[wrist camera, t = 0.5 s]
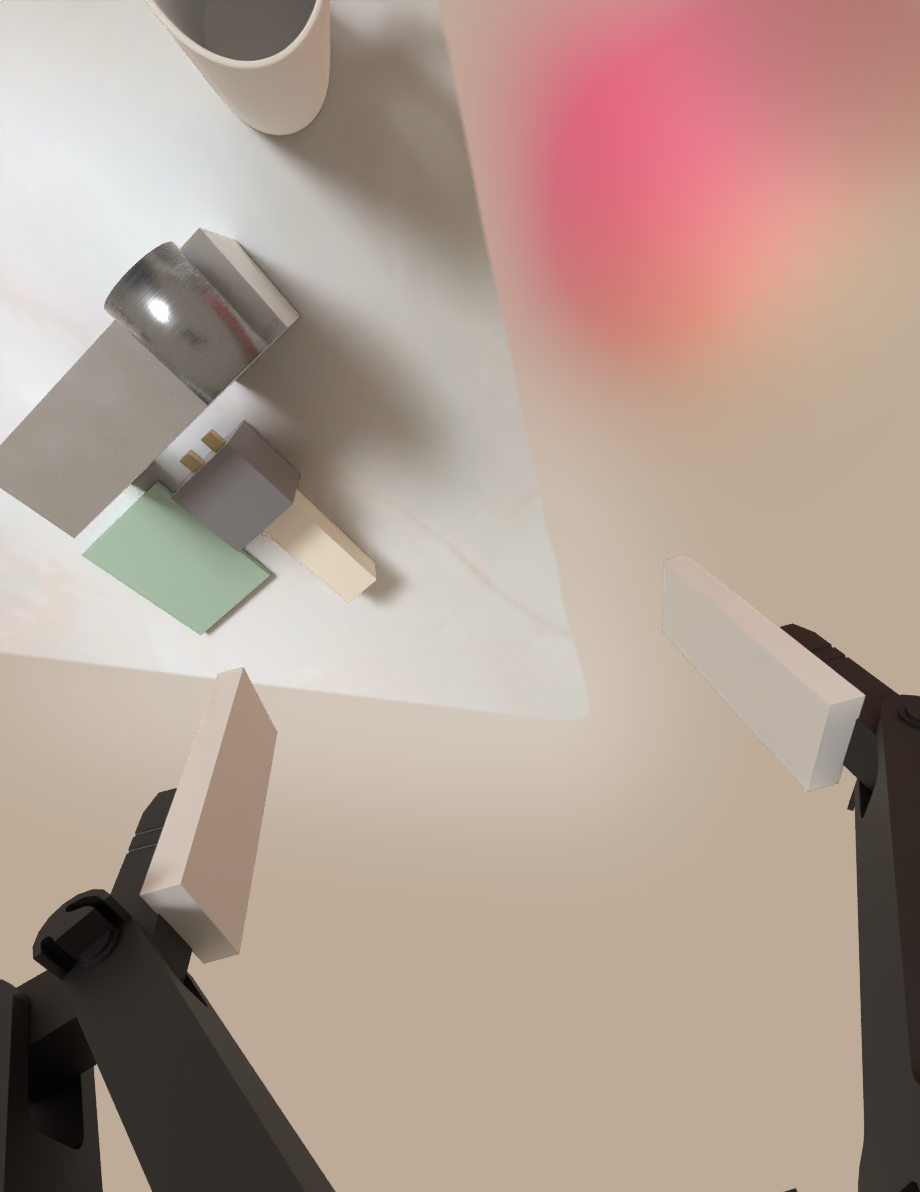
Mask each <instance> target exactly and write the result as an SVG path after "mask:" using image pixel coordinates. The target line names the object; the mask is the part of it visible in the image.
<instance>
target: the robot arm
mask: <svg viewBox="0 0 920 1192" xmlns="http://www.w3.org/2000/svg"><path fill="white" fill-rule="evenodd" d="M662 632H663V633H664V634H665V635H666V636H667V638H668V639H669V640H670V641H671V642H672V643H673V644H674V645H675V646H676V647H677V649H678V650H679V651H680V652H681V653H682V654H683V655H684V656H685V658H686V659H687V660H688V661H689V662H690V663H691V664H692V665H693V666H694V667H695V669H696V670H697V671H698V672H699V673H700V674H701V675H702V676H703V677H704V678H705V680H706V681H707V682H708V683H709V684H710V685H711V686H712V687H713V688H714V689H715V691H716V692H717V693H718V694H719V695H720V696H721V697H722V698H723V700H724V701H725V702H726V703H727V704H728V705H729V706H730V707H731V708H732V709H733V711H735V713H736V714H737V715H738V716H739V717H740V718H741V719H742V720H743V722H744V723H745V724H746V725H747V726H748V727H749V728H750V729H751V730H752V732H753V733H754V734H755V735H756V736H757V737H758V738H759V739H760V740H761V741H762V743H764V745H765V746H766V747H767V748H768V749H769V750H770V751H771V752H772V754H773V755H774V756H775V757H776V758H777V759H778V760H779V761H780V762H781V764H783V766H784V767H785V768H786V769H787V770H788V771H789V772H790V773H791V775H792V776H793V777H794V778H795V779H796V780H797V781H798V782H799V783H800V785H801V786H802V787H803V788H804V789H805V790H806V791H807V792H809V791H813V790H816V789H820V788H823V787H827V786H830V785H834V784H837V783H839V780H840V776H841V773H842V770H843V767H844V766H845V767H846V768H847V769H848V770H849V771H850V772H851V773H852V774H853V775H855V776H856V777H857V781H856V784H855V787H854V790H853V793H852V796H851V799H850V801H849V805H848V808H847V809H849V810H852V811H853V810H854V807H855V829H856V863H857V895H858V896H857V897H858V929H859V963H860V997H861V1028H862V1030H861V1031H862V1064H863V1098H864V1143H863V1149H862V1156H861V1161H860V1167H859V1179H858V1192H920V696H913V695H899V694H897V693H896V692H894V691H893V690H892V689H890V688H889V687H888V686H886V685H885V684H884V683H882V682H881V681H880V680H878V679H877V678H875V677H874V676H873V675H871V674H870V673H869V672H867V671H866V670H865V669H863V668H862V667H861V666H859V665H858V664H856V663H855V662H854V661H852V660H851V659H850V658H849V657H848V658H846V657H845V655H844V654H843V653H842V652H840V651H839V650H838V649H836V648H832V646H831V644H830V643H828V642H827V641H826V640H824V639H823V638H822V637H820V636H819V635H817V634H816V633H815V632H812V631H810V630H807V629H805V628H803V627H800V626H798V625H795V624H789V625H785V626H782V627H778V626H777V625H776V624H775V623H773V622H772V621H771V620H769V619H768V618H767V617H766V616H764V615H763V614H762V613H761V612H759V611H758V610H757V609H756V608H754V607H753V606H752V605H750V604H749V603H748V602H747V601H745V600H744V599H743V598H742V597H740V596H739V595H738V594H736V593H735V592H734V591H733V590H732V589H730V588H729V587H727V586H726V585H725V584H724V583H723V582H721V581H720V580H719V579H718V578H716V577H715V576H713V574H711V573H710V572H709V571H707V570H706V569H705V568H703V567H702V566H701V565H700V564H699V563H697V562H696V561H695V560H693V559H692V558H691V557H690V556H688V555H683V556H679V557H675V558H671V559H667V560H664V573H663V609H662ZM276 736H277V731H276V729H275V727H274V725H273V723H272V721H271V719H270V717H269V715H268V713H267V712H266V710H265V708H264V706H263V704H262V702H261V700H260V698H259V696H258V695H257V692H256V690H255V689H254V687H253V685H252V683H251V681H250V679H249V677H248V675H247V673H246V671H245V669H244V667H242V668H238V669H234V670H230V671H226V672H222V673H218V674H217V677H216V680H215V682H214V685H213V688H212V691H211V694H210V697H209V700H208V702H207V705H206V708H205V711H204V714H203V716H202V719H201V722H200V725H199V728H198V731H197V734H196V737H195V739H194V742H193V745H192V748H191V750H190V753H189V756H188V759H187V762H186V765H185V768H184V770H183V774H182V776H181V779H180V782H179V785H178V787H177V788H175V789H171V790H168V791H163V792H160V793H158V794H157V796H156V797H155V798H154V799H153V801H152V802H151V803H150V805H149V806H148V807H147V808H146V810H145V811H144V812H143V814H142V817H141V819H140V822H139V825H138V827H137V829H136V832H135V834H136V836H135V837H133V839H132V842H131V844H130V847H129V849H128V850H129V853H128V854H126V857H125V860H124V862H123V864H122V867H121V869H120V872H119V875H118V877H117V879H116V882H115V884H114V887H113V889H112V892H111V894H109V893H107V892H106V891H105V890H103V889H102V890H101V889H100V890H98V889H92V890H89V891H86V892H84V893H81V894H78V895H76V896H75V897H73V898H72V899H71V900H69V901H67V902H66V903H64V904H63V905H62V906H61V907H60V908H59V909H57V910H56V911H55V912H54V913H53V914H52V915H51V916H50V917H49V918H48V920H47V921H46V923H45V924H44V925H43V927H42V928H41V930H40V931H39V932H38V935H37V937H36V940H35V942H34V945H33V959H34V960H35V961H37V962H38V963H39V964H41V965H42V966H43V967H45V968H46V969H47V971H45V972H43V973H41V974H40V975H38V976H36V977H34V978H33V979H31V980H29V981H27V982H26V983H24V984H22V985H21V986H19V987H17V988H15V987H14V986H13V985H11V984H9V983H8V982H6V981H4V980H0V1192H103V1190H102V1176H101V1162H100V1148H99V1135H98V1121H97V1108H96V1093H95V1080H94V1066H95V1065H96V1064H97V1065H98V1067H99V1070H100V1072H101V1074H102V1077H103V1079H104V1081H105V1083H106V1086H107V1088H108V1090H109V1093H110V1095H111V1097H112V1099H113V1102H114V1104H115V1106H116V1109H117V1111H118V1113H119V1116H120V1118H121V1120H122V1123H123V1125H124V1127H125V1130H126V1132H127V1134H128V1136H129V1139H130V1141H131V1144H132V1146H133V1148H134V1150H135V1153H136V1155H137V1157H138V1160H139V1162H140V1164H141V1167H142V1169H143V1171H144V1174H145V1176H146V1178H147V1180H148V1183H149V1185H150V1187H151V1190H152V1192H335V1190H334V1189H333V1187H332V1186H331V1184H330V1183H329V1181H328V1180H327V1179H326V1177H325V1175H324V1174H323V1172H322V1171H321V1169H320V1168H319V1166H318V1165H317V1163H316V1162H315V1160H314V1159H313V1158H312V1156H311V1154H310V1153H309V1151H308V1150H307V1148H306V1147H305V1145H304V1144H303V1142H302V1141H301V1139H300V1138H299V1136H298V1135H297V1133H296V1132H295V1130H294V1129H293V1127H292V1126H291V1124H290V1123H289V1121H288V1120H287V1118H286V1117H285V1115H284V1114H283V1112H282V1111H281V1109H280V1108H279V1106H278V1105H277V1104H276V1102H275V1100H274V1099H273V1097H272V1096H271V1094H270V1093H269V1091H268V1090H267V1089H266V1087H265V1085H264V1084H263V1082H262V1081H261V1079H260V1078H259V1076H258V1075H257V1073H256V1072H255V1070H254V1069H253V1067H252V1066H251V1064H250V1063H249V1061H248V1060H247V1058H246V1057H245V1055H244V1054H243V1052H242V1051H241V1049H240V1048H239V1046H238V1045H237V1043H236V1042H235V1040H234V1039H233V1038H232V1036H231V1034H230V1033H229V1031H228V1030H227V1028H226V1027H225V1025H224V1024H223V1022H222V1021H221V1019H220V1018H219V1016H218V1015H217V1013H216V1012H215V1010H214V1009H213V1007H212V1006H211V1004H210V1003H209V1001H208V1000H207V998H206V997H205V995H204V994H203V992H202V991H201V989H200V988H199V987H198V985H197V983H196V982H195V981H194V979H193V977H192V976H191V975H190V974H189V973H188V972H187V969H188V965H189V961H190V956H191V953H192V952H193V953H194V954H195V955H196V956H197V957H198V958H199V959H200V960H201V961H202V962H203V963H204V964H205V963H209V962H212V961H216V960H219V959H223V958H225V957H230V956H233V955H237V954H239V953H240V947H241V941H242V935H243V929H244V923H245V917H246V912H247V906H248V899H249V893H250V888H251V882H252V877H253V871H254V865H255V859H256V853H257V847H258V841H259V836H260V829H261V824H262V818H263V812H264V806H265V801H266V794H267V788H268V783H269V777H270V771H271V766H272V760H273V754H274V748H275V742H276ZM785 1192H797V1190H796V1188H795V1189H792V1190H789V1191H785Z"/></svg>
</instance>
